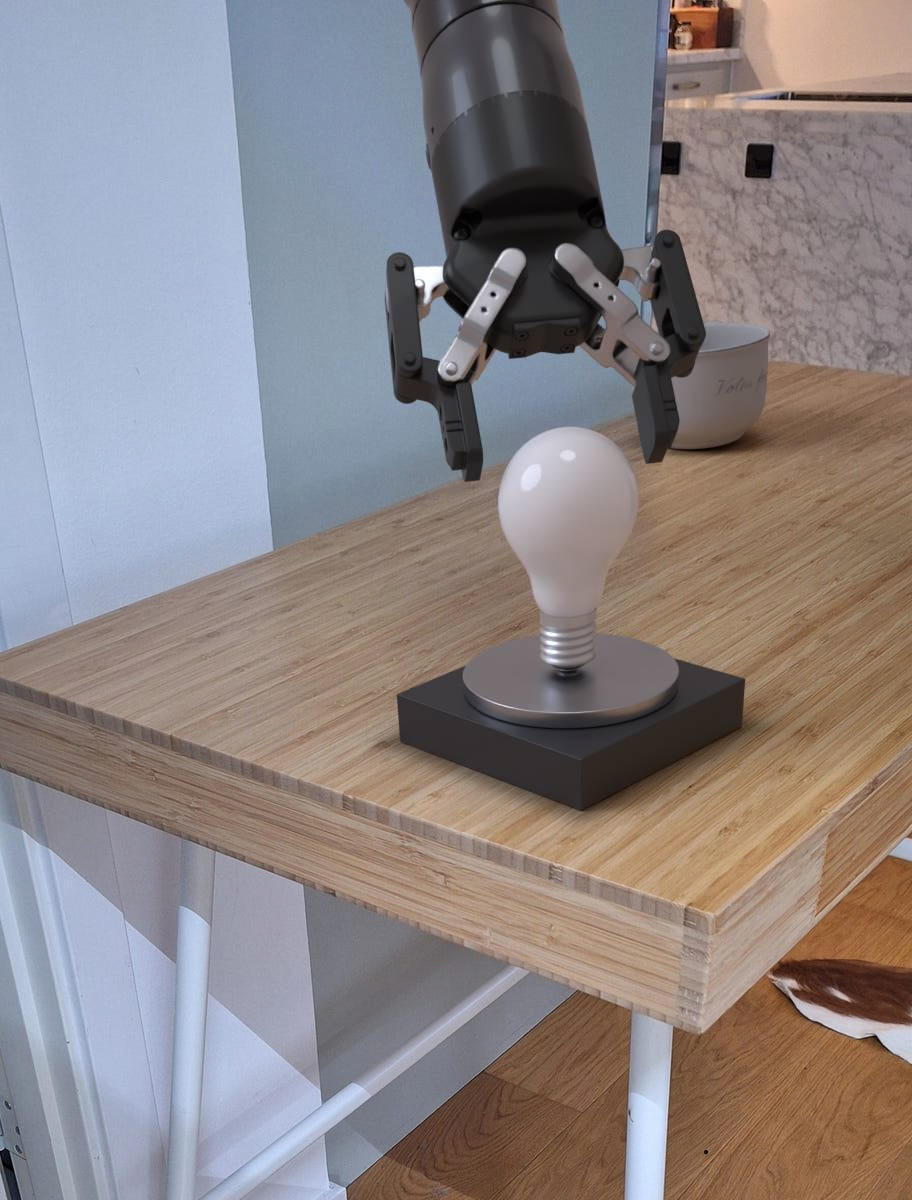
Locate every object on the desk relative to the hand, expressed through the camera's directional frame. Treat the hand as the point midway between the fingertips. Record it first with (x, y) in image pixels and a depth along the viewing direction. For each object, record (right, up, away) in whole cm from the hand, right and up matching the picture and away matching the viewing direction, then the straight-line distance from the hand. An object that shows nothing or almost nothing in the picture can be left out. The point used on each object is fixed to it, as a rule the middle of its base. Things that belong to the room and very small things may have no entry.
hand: (567, 463), depth 66 cm
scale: (+1, -11, +6) cm, 13 cm away
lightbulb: (+1, -8, +5) cm, 10 cm away
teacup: (+16, +23, +53) cm, 60 cm away
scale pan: (+1, -9, +5) cm, 10 cm away
